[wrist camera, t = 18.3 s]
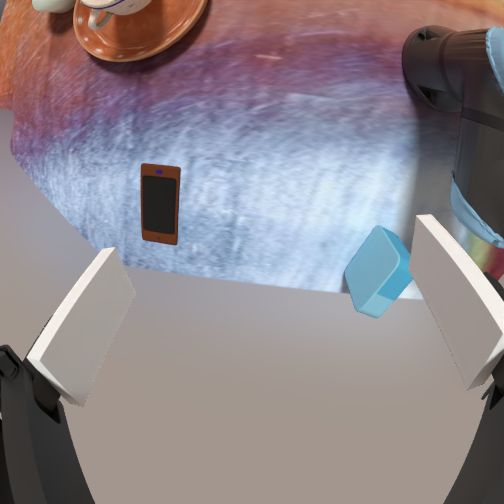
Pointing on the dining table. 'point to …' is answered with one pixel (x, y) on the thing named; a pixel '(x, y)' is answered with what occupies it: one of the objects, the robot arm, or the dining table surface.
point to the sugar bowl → (53, 5)
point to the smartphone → (160, 203)
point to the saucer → (137, 29)
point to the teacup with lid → (111, 10)
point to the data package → (378, 272)
